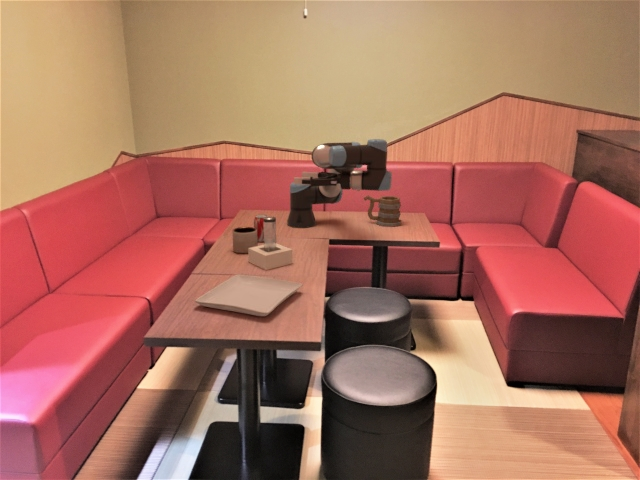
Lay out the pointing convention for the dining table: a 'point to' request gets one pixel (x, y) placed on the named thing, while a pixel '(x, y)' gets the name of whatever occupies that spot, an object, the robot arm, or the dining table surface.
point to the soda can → (259, 227)
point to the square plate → (249, 294)
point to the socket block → (270, 257)
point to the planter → (244, 239)
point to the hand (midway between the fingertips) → (298, 178)
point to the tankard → (386, 210)
